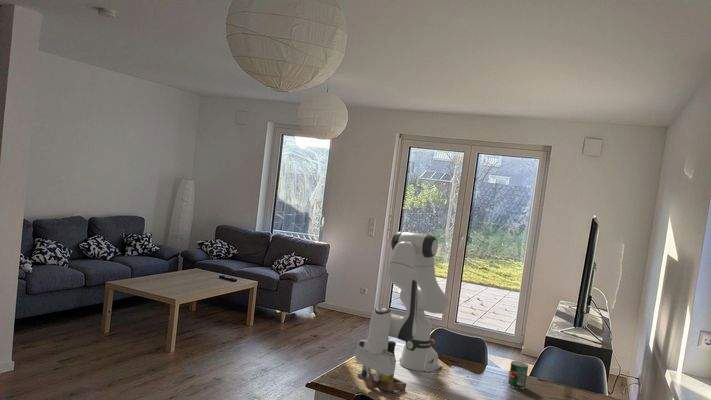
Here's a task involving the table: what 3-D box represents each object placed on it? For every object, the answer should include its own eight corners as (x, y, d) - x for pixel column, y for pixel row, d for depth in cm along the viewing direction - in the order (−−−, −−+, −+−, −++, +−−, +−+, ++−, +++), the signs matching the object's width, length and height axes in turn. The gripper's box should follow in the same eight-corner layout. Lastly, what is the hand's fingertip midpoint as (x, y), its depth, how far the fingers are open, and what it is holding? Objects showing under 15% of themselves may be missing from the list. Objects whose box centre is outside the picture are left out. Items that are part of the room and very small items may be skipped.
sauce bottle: (391, 391, 239) (397, 345, 239) (376, 388, 241) (383, 342, 240) (393, 386, 246) (399, 341, 245) (378, 383, 247) (385, 338, 246)
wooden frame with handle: (384, 380, 252) (386, 371, 252) (404, 390, 243) (407, 381, 243) (358, 380, 241) (361, 370, 241) (379, 390, 232) (381, 381, 232)
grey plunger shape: (364, 373, 257) (367, 347, 256) (373, 378, 252) (377, 351, 252) (354, 375, 253) (358, 349, 252) (363, 380, 248) (367, 353, 248)
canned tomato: (504, 384, 269) (507, 361, 269) (514, 382, 274) (517, 360, 274) (518, 390, 263) (521, 367, 263) (528, 388, 268) (531, 365, 267)
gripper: (400, 353, 231) (395, 386, 232) (365, 338, 246) (361, 370, 247) (390, 355, 227) (385, 389, 227) (355, 340, 242) (350, 371, 242)
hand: (372, 379), depth 237 cm, fingers closed on wooden frame with handle, 2 cm apart
